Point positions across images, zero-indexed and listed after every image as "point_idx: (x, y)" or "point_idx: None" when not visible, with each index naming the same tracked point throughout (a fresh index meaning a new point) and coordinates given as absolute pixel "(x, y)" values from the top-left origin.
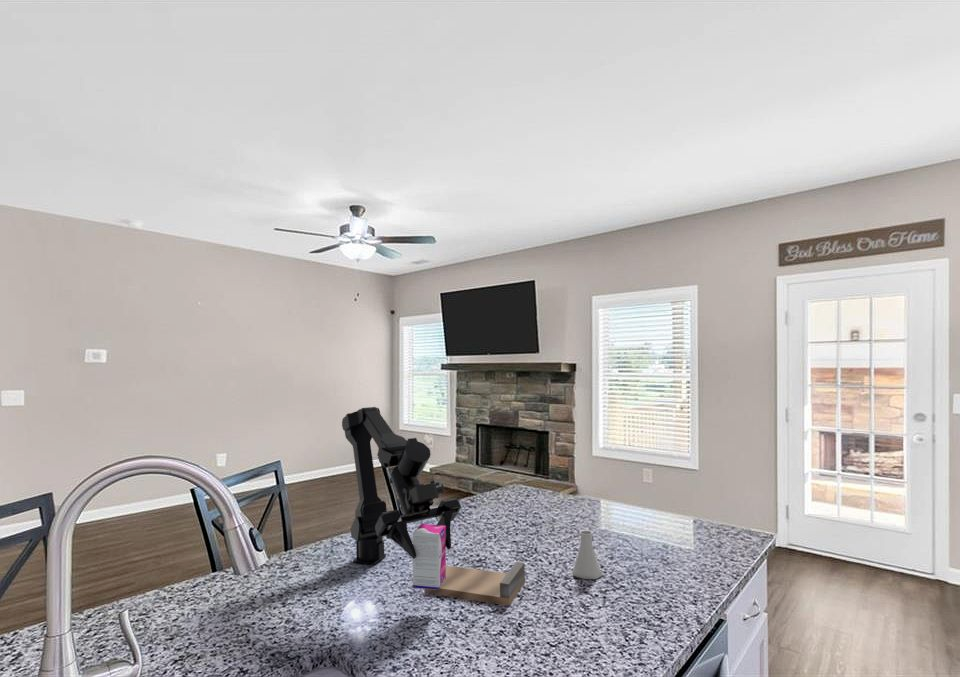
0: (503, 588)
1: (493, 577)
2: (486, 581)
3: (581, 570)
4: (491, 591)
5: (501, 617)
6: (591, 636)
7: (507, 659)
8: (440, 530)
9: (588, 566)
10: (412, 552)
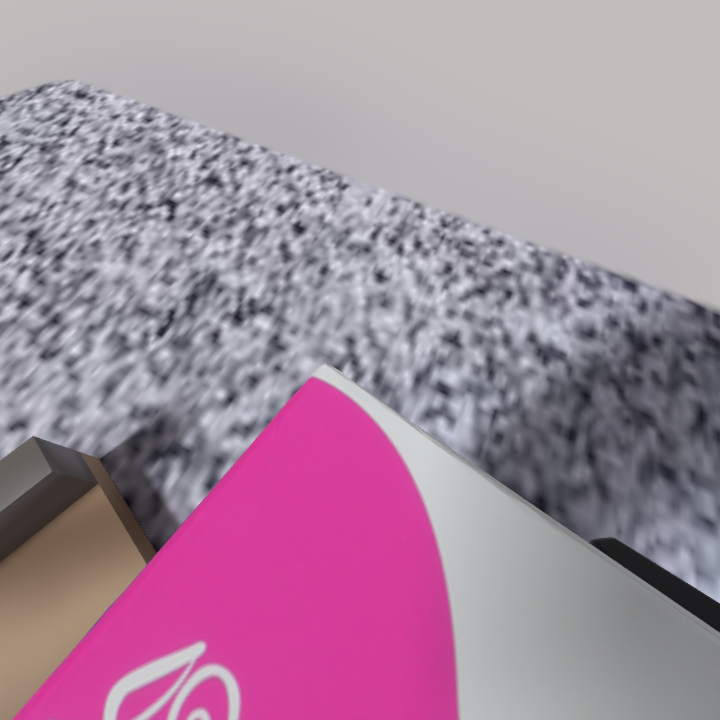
0: (61, 463)
1: None
2: (20, 701)
3: None
4: (86, 561)
5: (182, 394)
6: (63, 199)
7: (309, 198)
8: (214, 508)
9: None
10: (656, 565)
